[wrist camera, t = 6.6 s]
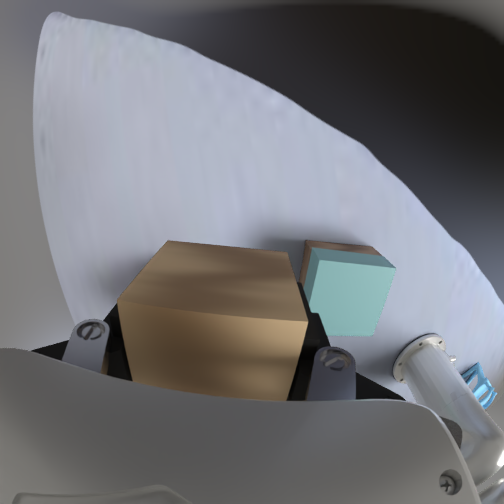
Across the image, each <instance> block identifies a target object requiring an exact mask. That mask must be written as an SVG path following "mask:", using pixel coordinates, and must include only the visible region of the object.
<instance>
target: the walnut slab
mask: <svg viewBox="0 0 504 504" xmlns="http://www.w3.org/2000/svg"><path fill="white" fill-rule="evenodd" d="M312 247H313V248H321V249H330V250H338V251H346V252H354V253H362V254H371V255H379V256H382V255H381V254H380V253H379V252H378V251H376V250H375V249H374V248H373V247H369V246H360V245H350V244H340V243H330V242H319V241H309V240H306V242H305V249H304V255H303V261H302V267H301V273H300V279H299V283H302V286H303V289H304V284H305V280H306V275H307V270H308V265H309V261H310V256H311V251H312Z"/></svg>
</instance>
